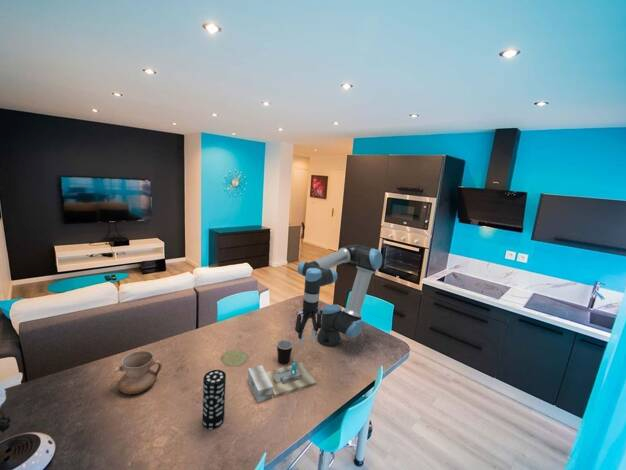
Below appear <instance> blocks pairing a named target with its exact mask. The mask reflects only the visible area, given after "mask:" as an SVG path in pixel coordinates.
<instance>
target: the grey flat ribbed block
mask: <svg viewBox="0 0 626 470" xmlns="http://www.w3.org/2000/svg"><path fill="white" fill-rule="evenodd" d="M291 369H292V364H291V365H287V366H284V367H281V368H275V369H273V370H269V371H266V370H265V368H264V366H263V365H257V366H254V367H248V369H247V382H248V383H249V386H250V388H251V391H252V393H253V395H254V398H255V400H256V402H257V403H261V402H264V401H268V400H271V399H273V397H274V398H278V397H281V396H283V395H287V394H291V393H294V392H297V391H300V390H303V389H307V388H309V387H313V386H316V385H317V381H316V379H315V378H314V376H313V375H312V374H311V372H310V371H309V370H308V368H307V367H306V366H305V364H304V363H303V362H299V363H297V367H296V369H298V370H299V371H300V373H298V374H294V375H291V376H287V377H284V378H282V381H281V382H277V383H276V382H275V381H274V375H277V374H281V373H284V372H288V371H291Z"/></svg>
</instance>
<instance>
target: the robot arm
mask: <svg viewBox="0 0 626 470" xmlns="http://www.w3.org/2000/svg"><path fill="white" fill-rule="evenodd" d="M347 263H353V264H356V265H355V268H357V271H356V276H355V279H354V282H353V285H352V289H351V292H350V295H349V299H348V302H347V305H346V308H344V309H342V307H341V306H340V305H338V304H326V305H324V306H323V307H322V309H321V308H319V301H320V291H321V287H325V286H328V285H332V284H333V283H335V282H337V280H338V272H337V271H336V269H334V267H336V266H338V265H340V264H347ZM382 263H383V254H382V252H381V251H380V250H379V249H376V248H374V247H369V246H365V245H361V244H351V245H347V246H346V245H345V246H343V247H341V248H339V249H338V250H337V251H335V252H333V253H330V254H328V255H325V256H322V257H320V258H318V259H314V260H311V261H309V262H307V261H301V262H299V264H298V266H297V272H298V274H299V275H300V276H302V277H304V289H303V300H302V301H303V302H302V310H301V311H296V320H295V321H296V322H295V327H294V328H295V329H294V331H295V332H296V333H297V334H298V335H297V338H298V343H299V345H300V346H302V347H303V345H304V337H305V333H304V330H305V327H306V325H307V322H308V321H309V319H311V322H312V327H313V328H311V335H310V341H311V343H314V344H315V341H316V340H317V341H316V342H318V343H319V344H320V345H322V346H325V347H330V348H332V347H337V346H339V345H340V344H341V339H342V338H341V334H343V335H345V336H346V337H349V338H351V339H353V338H357V337H358V336H359V334H361V332H362V331H363V329H364V321H363V320H362V317H363V315H362V313H361V312H362V308H363V305H364V301H365V298H366V295H367V291H368V289H369V285H370V283H371V282H370V281H371V278H372V275H373V274H375V273H376V272H377V271H376V270H378V271H379V269H381V266H382Z"/></svg>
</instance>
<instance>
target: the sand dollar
mask: <svg viewBox="0 0 626 470" xmlns="http://www.w3.org/2000/svg"><path fill="white" fill-rule="evenodd" d="M249 358H250V355H249V354H248V353H247V352H246V351H243V350H239V349H238V350H237V349H234V350H233V349H232V350H228V351H226V352H225V353H223V354H222V355H221V357H220V361H221V362H222V364H223V365H224V366H225V367H234V368H235V367H241V366H242V365H244V364H245V363H247V362H248V360H249Z"/></svg>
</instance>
